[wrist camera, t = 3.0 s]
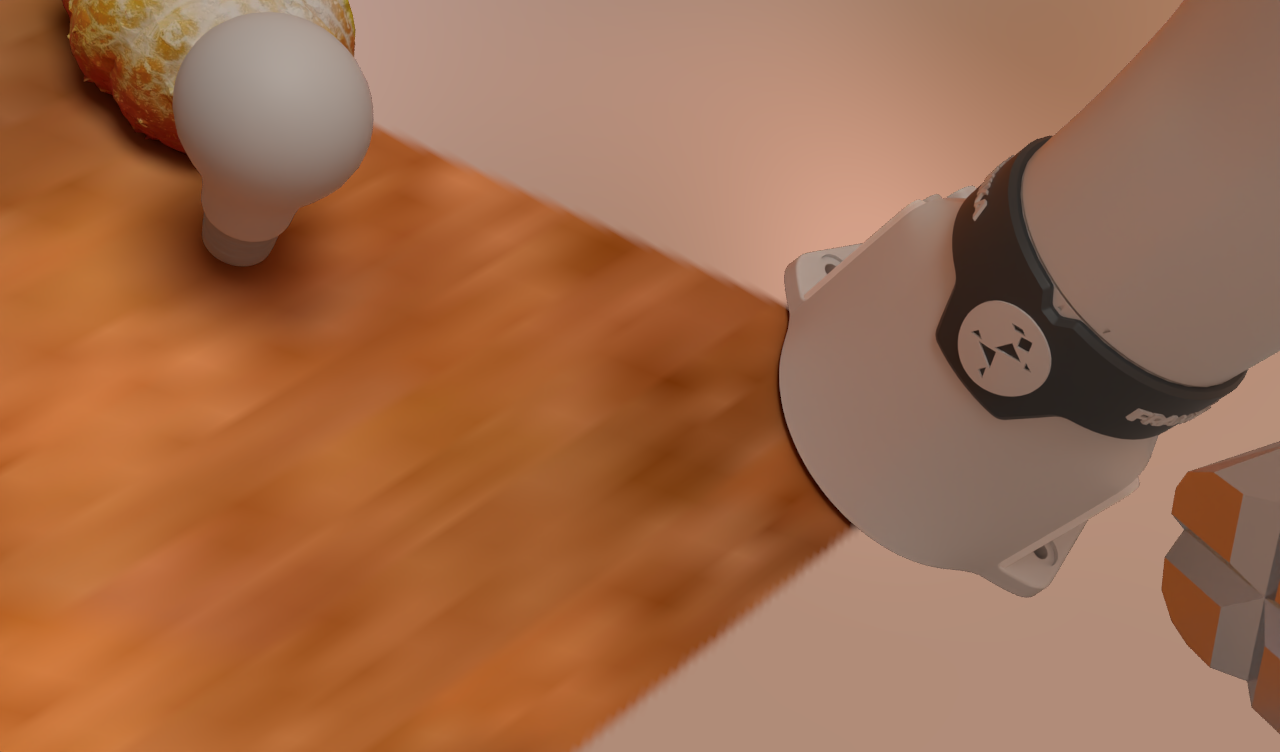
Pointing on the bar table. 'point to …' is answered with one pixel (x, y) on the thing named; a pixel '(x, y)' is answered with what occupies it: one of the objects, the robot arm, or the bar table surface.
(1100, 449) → the robot arm
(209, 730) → the bar table surface
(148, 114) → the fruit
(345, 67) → the lightbulb
